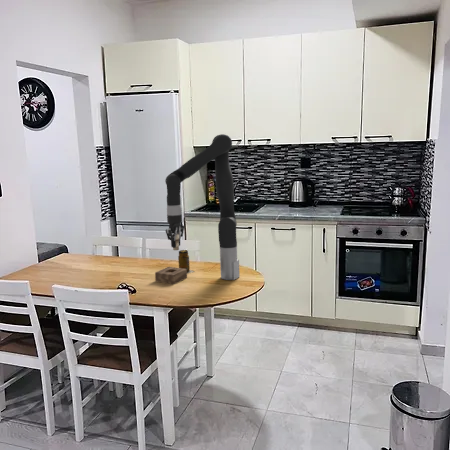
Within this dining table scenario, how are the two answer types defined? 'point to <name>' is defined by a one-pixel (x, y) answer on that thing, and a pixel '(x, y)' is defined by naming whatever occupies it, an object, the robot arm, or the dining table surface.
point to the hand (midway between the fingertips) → (176, 246)
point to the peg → (176, 242)
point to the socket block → (171, 275)
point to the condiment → (184, 260)
